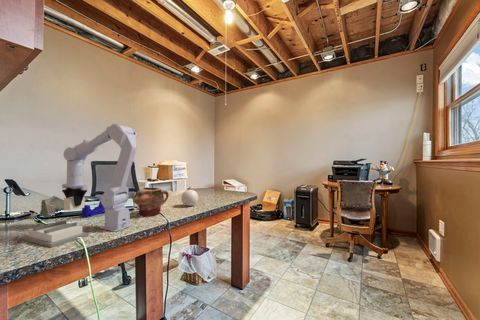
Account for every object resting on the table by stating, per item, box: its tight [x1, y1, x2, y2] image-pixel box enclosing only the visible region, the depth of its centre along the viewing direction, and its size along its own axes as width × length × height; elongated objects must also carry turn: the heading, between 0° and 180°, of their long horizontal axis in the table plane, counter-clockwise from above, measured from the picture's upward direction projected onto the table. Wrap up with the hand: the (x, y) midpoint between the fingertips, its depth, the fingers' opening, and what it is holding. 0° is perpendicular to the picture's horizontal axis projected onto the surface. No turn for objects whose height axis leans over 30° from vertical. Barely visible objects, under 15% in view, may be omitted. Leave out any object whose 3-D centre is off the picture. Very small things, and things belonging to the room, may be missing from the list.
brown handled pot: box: [133, 187, 169, 217], centre depth 115 cm, size 20×12×14 cm, turn 150°
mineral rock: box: [39, 195, 64, 219], centre depth 109 cm, size 13×11×10 cm
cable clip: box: [81, 200, 105, 219], centre depth 112 cm, size 12×4×6 cm, turn 170°
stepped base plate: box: [20, 220, 90, 248], centre depth 80 cm, size 18×12×4 cm, turn 69°
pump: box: [63, 196, 87, 211], centre depth 96 cm, size 4×8×5 cm, turn 159°
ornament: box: [181, 186, 199, 207], centre depth 136 cm, size 10×10×12 cm
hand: (74, 205), depth 95 cm, fingers closed on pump, 4 cm apart
